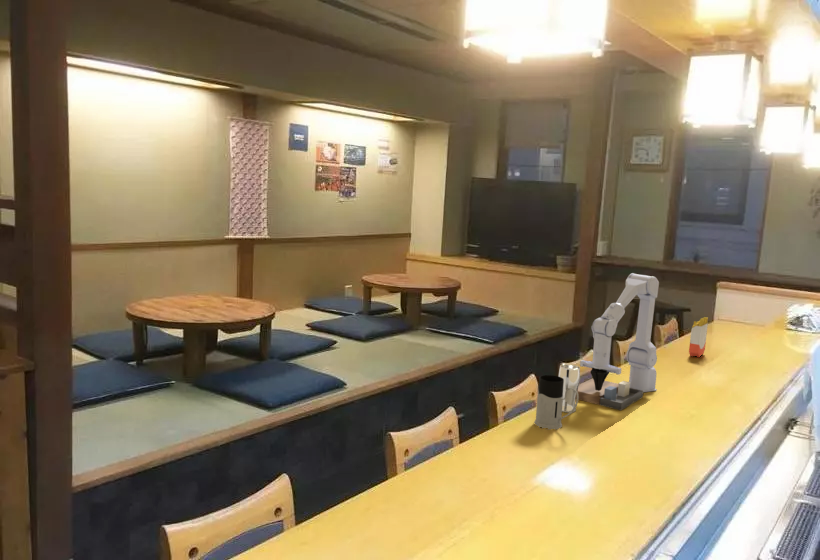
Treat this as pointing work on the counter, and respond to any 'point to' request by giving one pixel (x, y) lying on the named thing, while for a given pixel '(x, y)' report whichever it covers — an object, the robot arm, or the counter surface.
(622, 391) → the white tile
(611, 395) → the blue-gray block
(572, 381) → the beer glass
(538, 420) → the grey black mug
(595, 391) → the walnut board
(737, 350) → the counter surface
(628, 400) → the tray
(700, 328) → the french fries container
